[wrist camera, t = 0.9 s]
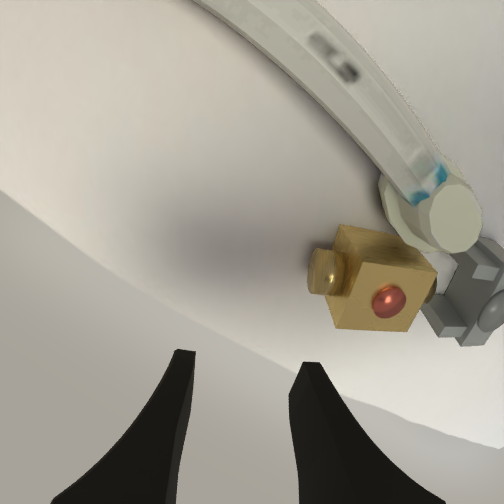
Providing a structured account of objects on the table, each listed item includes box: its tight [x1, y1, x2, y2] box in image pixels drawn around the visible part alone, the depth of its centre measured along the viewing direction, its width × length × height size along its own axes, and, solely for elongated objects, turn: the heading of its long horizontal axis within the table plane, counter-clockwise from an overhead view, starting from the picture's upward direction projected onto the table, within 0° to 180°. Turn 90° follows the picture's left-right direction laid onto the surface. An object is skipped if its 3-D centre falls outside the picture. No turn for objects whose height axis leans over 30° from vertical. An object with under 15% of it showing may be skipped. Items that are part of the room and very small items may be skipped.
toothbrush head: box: [193, 0, 482, 254], centre depth 12 cm, size 5×7×25 cm
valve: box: [307, 224, 438, 332], centre depth 18 cm, size 8×4×5 cm, turn 80°
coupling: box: [420, 237, 504, 347], centre depth 19 cm, size 6×7×5 cm
